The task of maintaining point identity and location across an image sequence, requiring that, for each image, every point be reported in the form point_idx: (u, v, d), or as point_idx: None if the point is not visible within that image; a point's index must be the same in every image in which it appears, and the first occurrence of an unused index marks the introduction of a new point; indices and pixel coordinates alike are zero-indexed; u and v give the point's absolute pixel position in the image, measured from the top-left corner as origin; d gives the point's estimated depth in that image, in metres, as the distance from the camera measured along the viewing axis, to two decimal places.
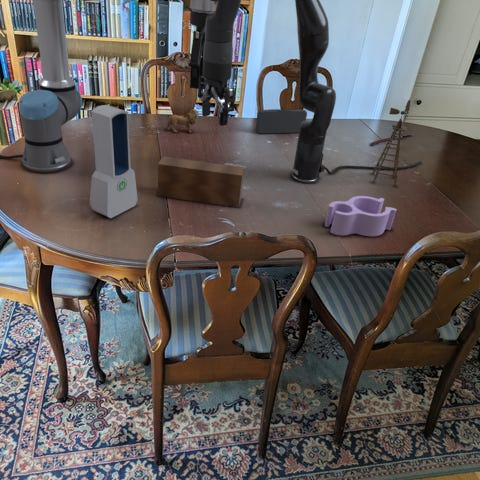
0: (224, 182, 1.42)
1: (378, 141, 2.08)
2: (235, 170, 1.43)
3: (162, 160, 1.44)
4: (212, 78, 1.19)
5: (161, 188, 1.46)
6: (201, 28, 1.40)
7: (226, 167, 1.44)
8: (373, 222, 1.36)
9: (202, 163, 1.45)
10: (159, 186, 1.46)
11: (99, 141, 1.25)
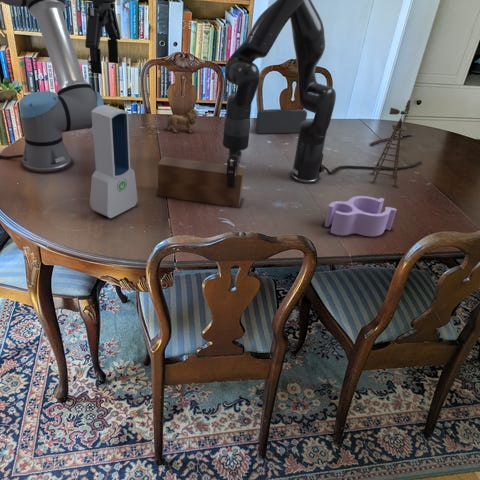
0: (224, 182, 1.42)
1: (378, 141, 2.08)
2: None
3: (162, 160, 1.44)
4: (224, 145, 1.37)
5: (161, 188, 1.46)
6: (98, 4, 1.23)
7: (226, 167, 1.44)
8: (373, 222, 1.36)
9: (202, 163, 1.45)
10: (159, 186, 1.46)
11: (99, 141, 1.25)
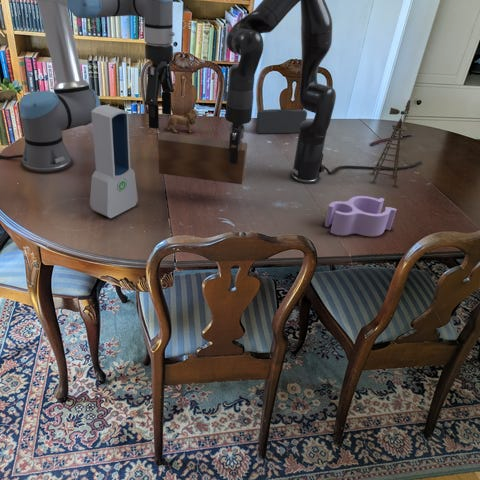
0: (227, 158, 1.38)
1: (378, 141, 2.08)
2: None
3: (163, 136, 1.40)
4: (227, 119, 1.32)
5: (162, 164, 1.42)
6: (157, 63, 1.26)
7: (228, 142, 1.40)
8: (373, 222, 1.36)
9: (204, 139, 1.41)
10: (160, 163, 1.42)
11: (99, 141, 1.25)
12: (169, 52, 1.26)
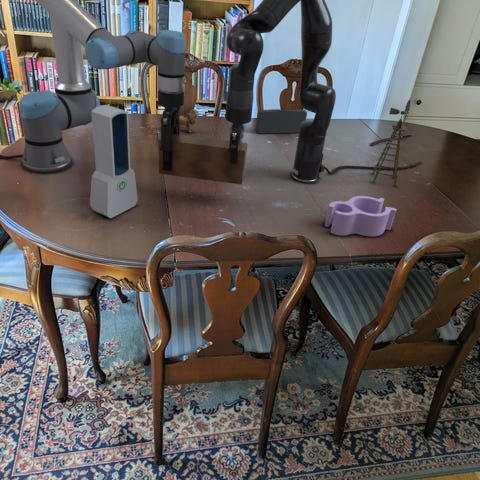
0: (227, 158, 1.38)
1: (378, 141, 2.08)
2: None
3: None
4: (227, 119, 1.32)
5: (162, 164, 1.42)
6: (169, 109, 1.32)
7: (228, 142, 1.40)
8: (373, 222, 1.36)
9: (204, 139, 1.41)
10: (160, 163, 1.42)
11: (99, 141, 1.25)
12: (180, 98, 1.32)
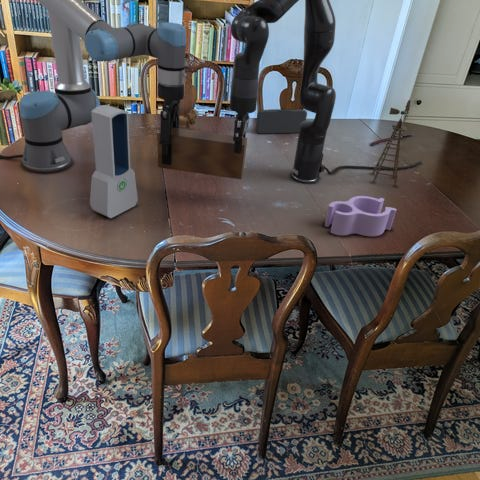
0: (226, 153, 1.37)
1: (378, 141, 2.08)
2: None
3: None
4: (231, 108, 1.31)
5: (161, 158, 1.41)
6: (169, 102, 1.31)
7: (228, 137, 1.39)
8: (373, 222, 1.36)
9: (203, 133, 1.40)
10: (159, 157, 1.41)
11: (99, 141, 1.25)
12: (180, 92, 1.31)
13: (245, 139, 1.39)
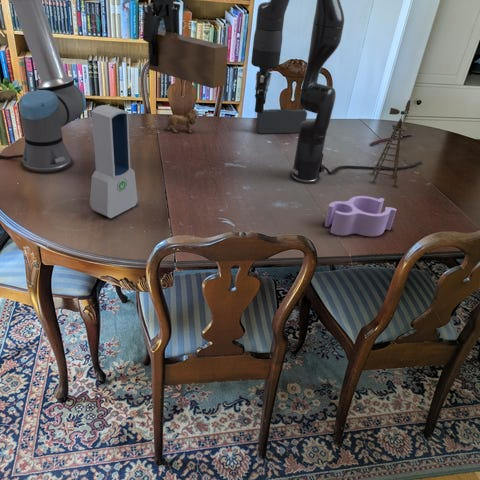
0: (200, 56, 1.33)
1: (378, 141, 2.08)
2: (215, 45, 1.33)
3: None
4: (253, 63, 1.23)
5: None
6: None
7: (209, 42, 1.35)
8: (373, 222, 1.36)
9: (190, 38, 1.39)
10: (149, 58, 1.45)
11: (99, 141, 1.25)
12: None
13: (223, 46, 1.33)
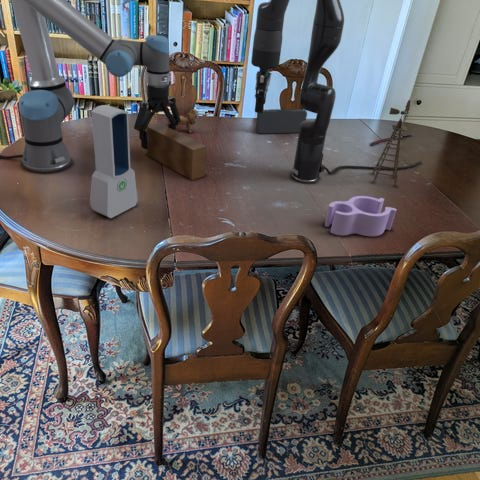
0: (182, 153, 1.58)
1: (378, 141, 2.08)
2: (195, 145, 1.57)
3: (153, 125, 1.69)
4: (253, 63, 1.23)
5: (148, 148, 1.72)
6: (150, 99, 1.60)
7: (192, 141, 1.59)
8: (373, 222, 1.36)
9: (179, 134, 1.64)
10: (147, 146, 1.72)
11: (99, 141, 1.25)
12: (159, 92, 1.58)
13: (202, 146, 1.57)
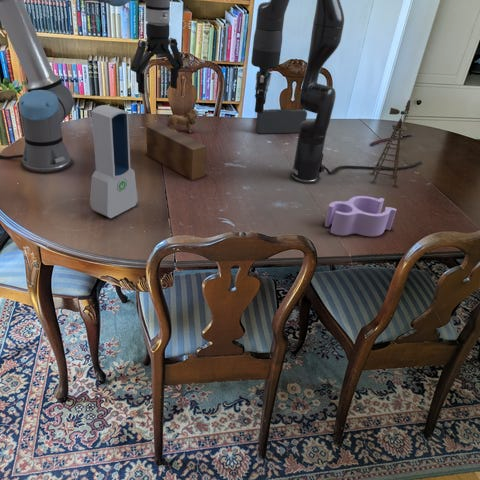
0: (182, 153, 1.58)
1: (378, 141, 2.08)
2: (195, 145, 1.57)
3: (153, 125, 1.69)
4: (253, 63, 1.23)
5: (148, 148, 1.72)
6: (149, 38, 1.49)
7: (192, 141, 1.59)
8: (373, 222, 1.36)
9: (179, 134, 1.64)
10: (147, 146, 1.72)
11: (99, 141, 1.25)
12: (159, 30, 1.47)
13: (202, 146, 1.57)
